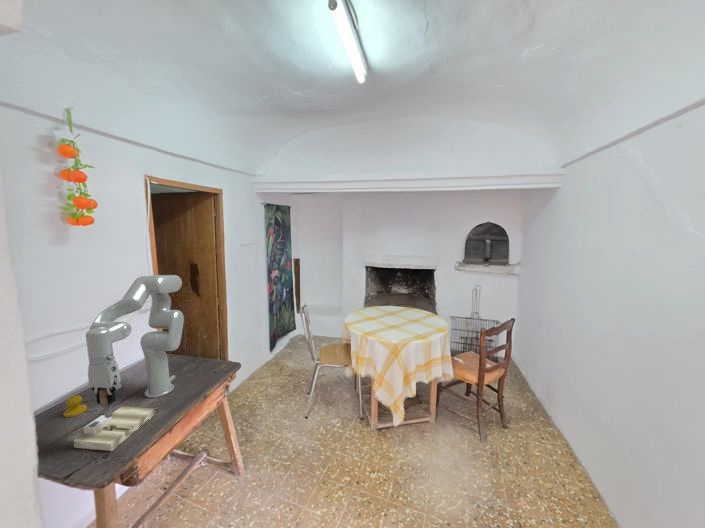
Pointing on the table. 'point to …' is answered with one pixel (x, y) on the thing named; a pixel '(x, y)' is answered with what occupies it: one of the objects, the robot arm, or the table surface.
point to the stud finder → (97, 425)
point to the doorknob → (74, 406)
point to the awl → (105, 402)
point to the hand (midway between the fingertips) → (106, 401)
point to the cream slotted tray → (115, 429)
